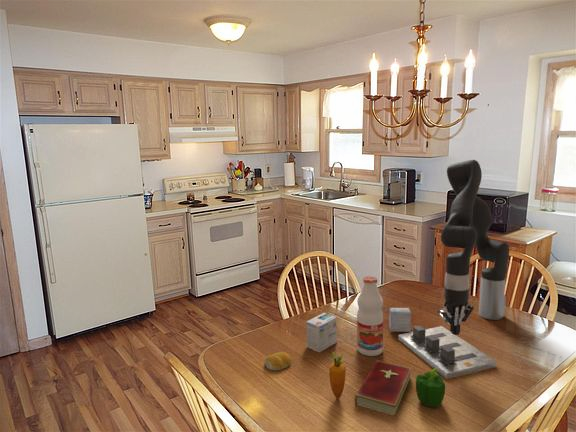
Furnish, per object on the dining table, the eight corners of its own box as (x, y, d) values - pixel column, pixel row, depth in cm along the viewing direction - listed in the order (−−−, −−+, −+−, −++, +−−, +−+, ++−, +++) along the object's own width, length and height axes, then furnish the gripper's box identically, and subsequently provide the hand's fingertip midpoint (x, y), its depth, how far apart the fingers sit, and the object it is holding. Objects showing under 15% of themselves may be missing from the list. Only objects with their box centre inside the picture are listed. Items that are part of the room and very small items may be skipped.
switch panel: (441, 330, 164) (442, 325, 164) (496, 366, 138) (496, 361, 138) (398, 339, 159) (398, 334, 158) (446, 379, 132) (446, 373, 132)
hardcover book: (354, 406, 121) (354, 393, 121) (375, 370, 139) (375, 358, 139) (395, 418, 116) (395, 405, 115) (411, 379, 134) (411, 367, 133)
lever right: (420, 335, 156) (421, 324, 156) (427, 339, 153) (427, 329, 152) (410, 337, 155) (411, 326, 154) (417, 341, 151) (417, 331, 151)
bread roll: (295, 365, 144) (295, 355, 143) (273, 374, 139) (273, 363, 138) (282, 355, 150) (282, 345, 150) (261, 363, 146) (260, 353, 145)
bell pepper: (429, 415, 116) (430, 383, 114) (409, 398, 123) (410, 368, 121) (451, 406, 119) (453, 375, 117) (431, 390, 127) (432, 361, 125)
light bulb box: (324, 337, 163) (324, 311, 161) (337, 342, 158) (337, 316, 156) (306, 347, 155) (305, 320, 153) (319, 353, 151) (318, 326, 149)
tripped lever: (448, 355, 141) (449, 344, 141) (456, 361, 138) (457, 350, 137) (437, 358, 140) (438, 346, 139) (445, 364, 136) (446, 352, 136)
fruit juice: (379, 343, 156) (379, 273, 151) (385, 356, 147) (386, 282, 142) (354, 344, 156) (354, 274, 151) (359, 357, 147) (359, 283, 141)
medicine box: (408, 327, 168) (408, 307, 167) (410, 332, 164) (411, 312, 162) (388, 327, 169) (389, 307, 167) (390, 332, 165) (390, 312, 163)
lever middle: (434, 344, 149) (434, 334, 148) (441, 350, 145) (441, 339, 144) (423, 347, 148) (424, 336, 147) (430, 352, 144) (431, 341, 143)
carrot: (328, 394, 127) (327, 350, 124) (344, 393, 127) (343, 348, 124) (331, 404, 122) (330, 358, 119) (347, 403, 122) (347, 357, 119)
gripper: (465, 278, 140) (463, 325, 143) (432, 284, 136) (431, 332, 139) (481, 286, 133) (479, 335, 136) (447, 292, 129) (446, 343, 132)
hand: (455, 333), depth 138 cm, fingers closed
